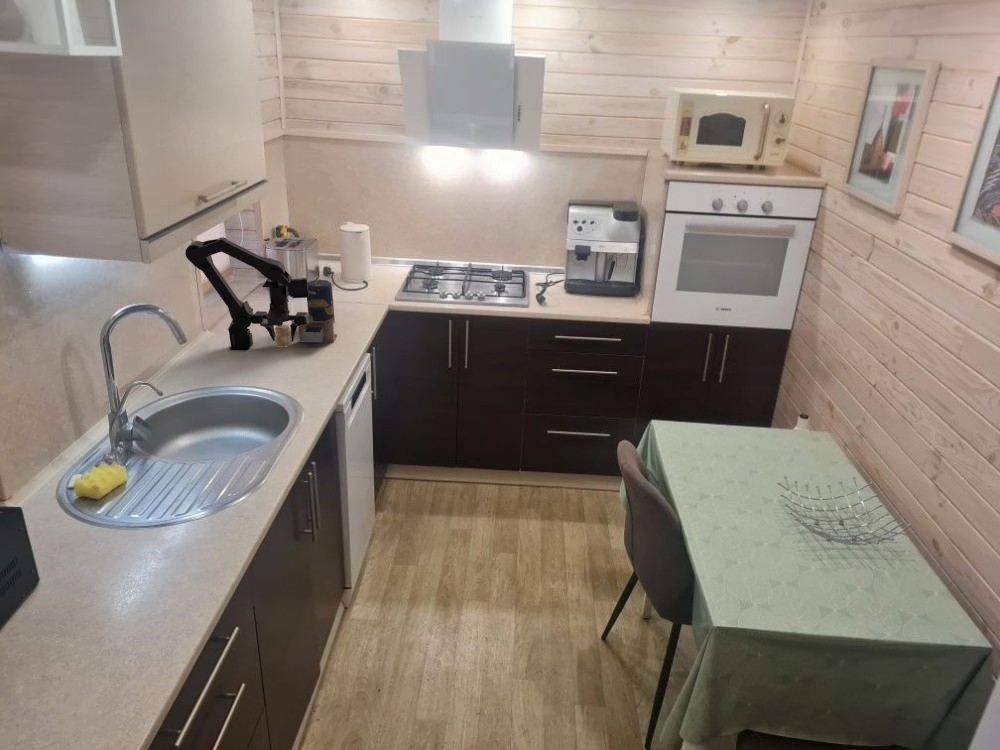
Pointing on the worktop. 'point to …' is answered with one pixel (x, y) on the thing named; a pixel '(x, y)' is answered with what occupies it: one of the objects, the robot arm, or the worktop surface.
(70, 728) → the worktop surface
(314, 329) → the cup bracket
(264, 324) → the robot arm
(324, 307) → the canister
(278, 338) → the rail end
